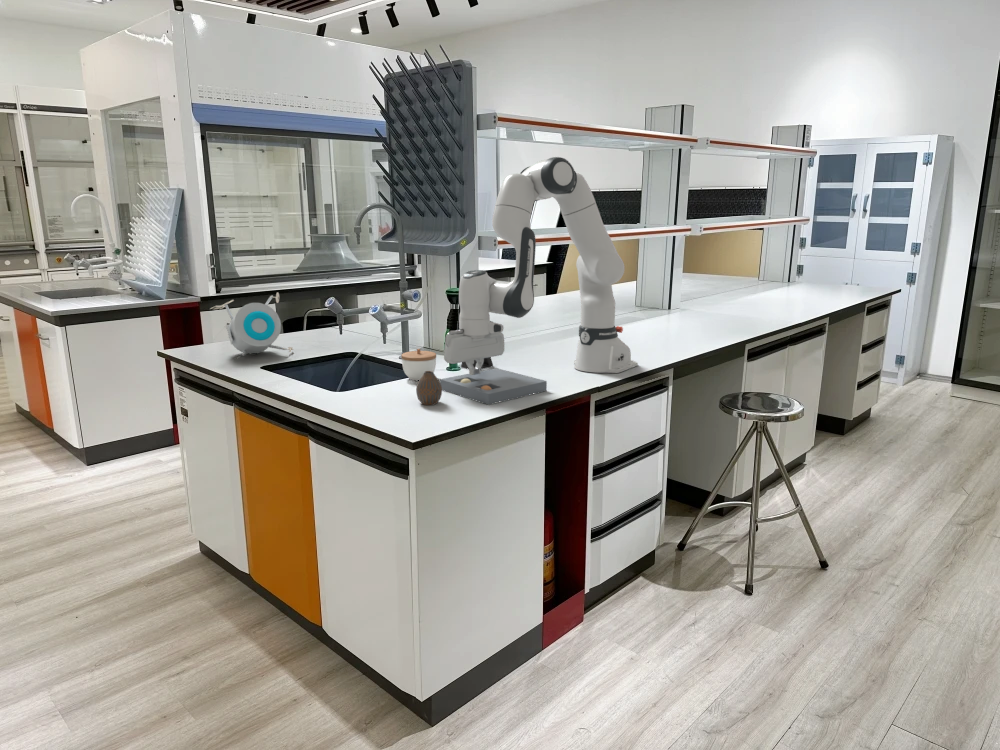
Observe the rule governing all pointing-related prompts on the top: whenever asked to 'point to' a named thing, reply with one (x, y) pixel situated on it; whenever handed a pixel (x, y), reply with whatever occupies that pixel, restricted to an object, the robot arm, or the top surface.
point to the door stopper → (486, 363)
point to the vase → (429, 389)
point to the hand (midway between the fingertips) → (474, 374)
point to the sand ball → (465, 381)
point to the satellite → (254, 327)
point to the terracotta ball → (486, 387)
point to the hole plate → (493, 385)
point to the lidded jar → (418, 363)
